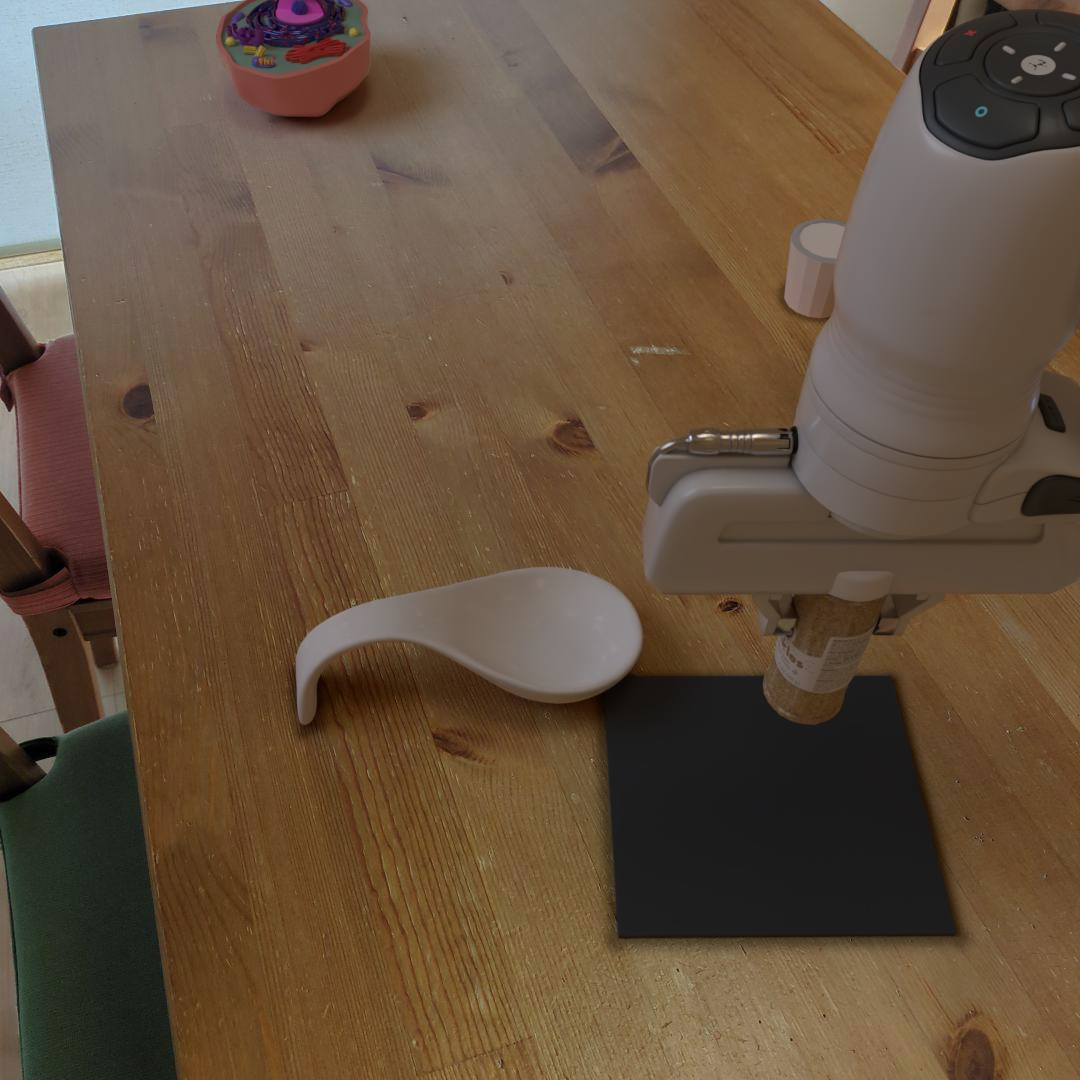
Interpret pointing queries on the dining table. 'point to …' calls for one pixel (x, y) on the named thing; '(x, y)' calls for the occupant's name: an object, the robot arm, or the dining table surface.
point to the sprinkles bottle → (825, 646)
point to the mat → (766, 815)
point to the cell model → (295, 53)
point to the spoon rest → (496, 633)
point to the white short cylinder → (813, 267)
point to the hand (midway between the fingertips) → (829, 625)
